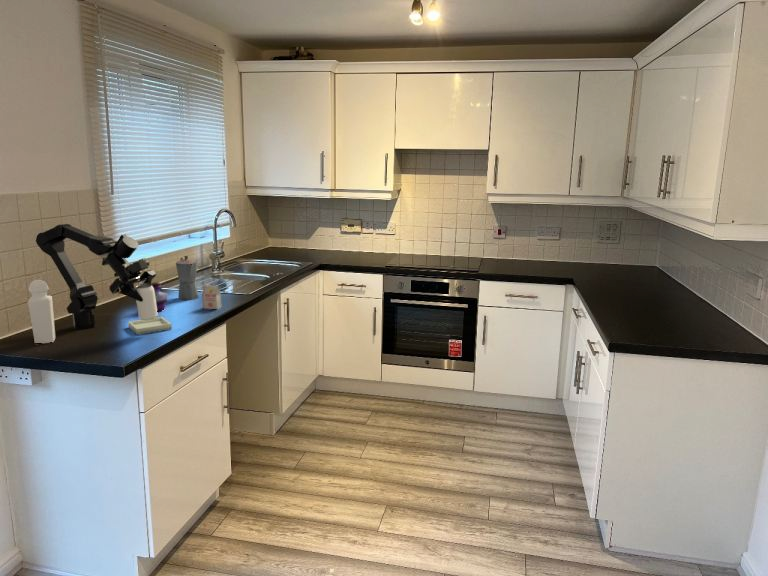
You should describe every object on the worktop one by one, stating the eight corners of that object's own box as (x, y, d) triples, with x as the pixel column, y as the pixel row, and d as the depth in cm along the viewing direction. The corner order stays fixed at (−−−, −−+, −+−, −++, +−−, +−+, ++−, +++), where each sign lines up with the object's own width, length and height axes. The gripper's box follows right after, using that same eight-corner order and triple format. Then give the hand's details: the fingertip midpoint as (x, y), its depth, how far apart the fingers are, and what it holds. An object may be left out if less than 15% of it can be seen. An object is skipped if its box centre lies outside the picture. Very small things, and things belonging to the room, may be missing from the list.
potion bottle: (173, 308, 245) (171, 281, 242) (161, 313, 236) (158, 285, 234) (155, 307, 247) (153, 280, 244) (142, 312, 238) (140, 284, 236)
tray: (136, 335, 206) (136, 329, 206) (128, 327, 216) (128, 321, 216) (171, 329, 214) (171, 323, 213) (162, 322, 223) (162, 316, 223)
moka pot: (184, 302, 255) (181, 258, 251) (171, 296, 267) (168, 254, 262) (204, 299, 261) (202, 256, 257) (191, 293, 273) (188, 252, 268)
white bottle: (33, 344, 195) (24, 282, 190) (36, 339, 200) (28, 278, 196) (54, 342, 197) (47, 280, 192) (57, 337, 203) (49, 277, 198)
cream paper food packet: (207, 306, 248) (206, 284, 246) (221, 307, 246) (220, 285, 244) (203, 308, 244) (201, 286, 242) (217, 310, 243) (215, 287, 240)
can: (149, 312, 211) (144, 282, 208) (161, 315, 209) (157, 284, 205) (135, 318, 206) (130, 286, 202) (147, 321, 203) (142, 289, 199)
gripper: (113, 255, 194) (142, 290, 193) (150, 248, 211) (177, 279, 210) (96, 276, 198) (125, 310, 197) (134, 267, 215) (161, 298, 214)
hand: (148, 298), depth 204 cm, fingers closed on can, 6 cm apart
